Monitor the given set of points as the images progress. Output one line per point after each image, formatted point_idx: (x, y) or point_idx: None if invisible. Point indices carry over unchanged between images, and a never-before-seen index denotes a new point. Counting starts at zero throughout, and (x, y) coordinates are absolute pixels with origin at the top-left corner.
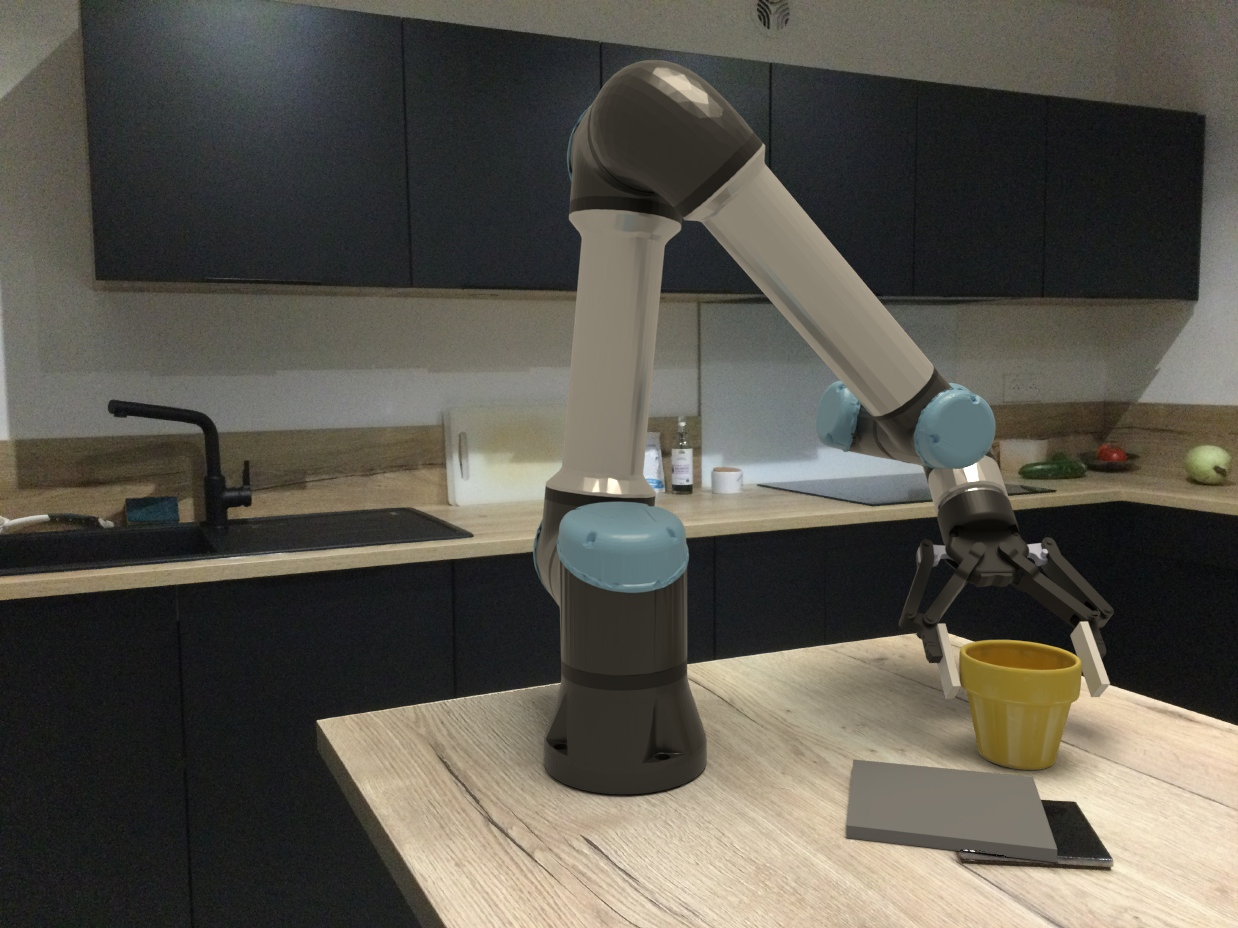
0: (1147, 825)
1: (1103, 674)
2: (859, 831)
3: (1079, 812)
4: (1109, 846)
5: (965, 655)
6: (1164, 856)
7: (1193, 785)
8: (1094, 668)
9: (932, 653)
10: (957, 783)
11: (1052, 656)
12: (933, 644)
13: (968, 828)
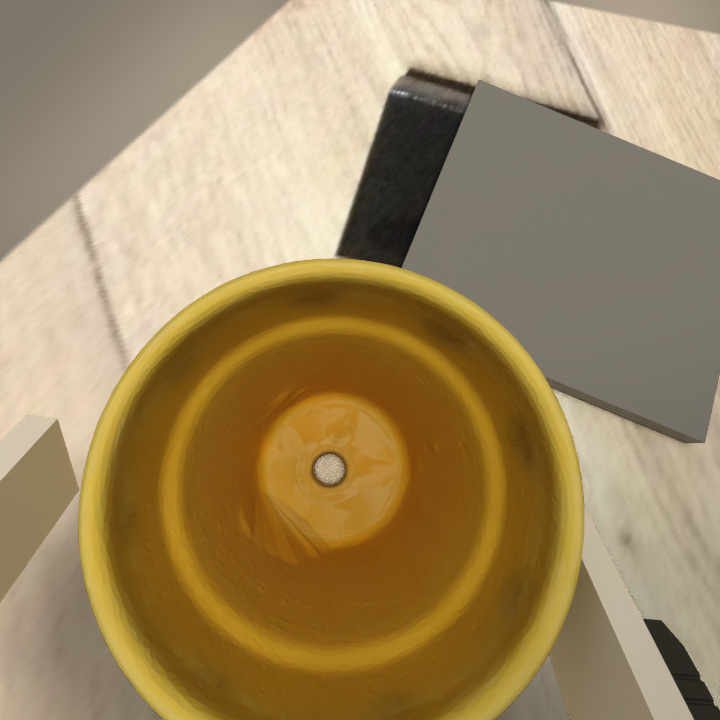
0: (269, 162)
1: (13, 443)
2: None
3: (352, 219)
4: (371, 119)
5: (582, 507)
6: (311, 82)
7: (64, 279)
8: (13, 483)
9: (668, 634)
10: (539, 304)
11: (134, 575)
12: (681, 685)
13: (580, 155)
